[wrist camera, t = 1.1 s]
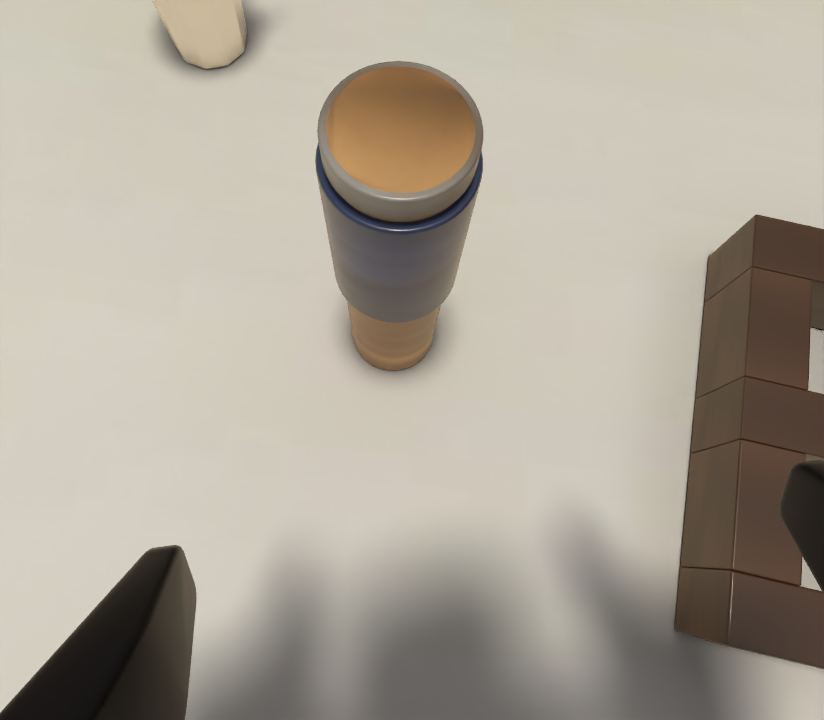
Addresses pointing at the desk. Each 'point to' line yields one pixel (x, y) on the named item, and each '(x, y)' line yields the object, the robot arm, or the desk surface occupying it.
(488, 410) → the desk surface
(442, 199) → the travel flask
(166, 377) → the desk surface
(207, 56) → the milkshake
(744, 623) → the holder
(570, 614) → the desk surface
